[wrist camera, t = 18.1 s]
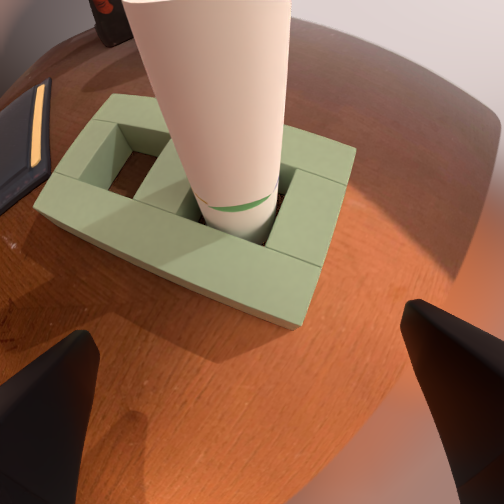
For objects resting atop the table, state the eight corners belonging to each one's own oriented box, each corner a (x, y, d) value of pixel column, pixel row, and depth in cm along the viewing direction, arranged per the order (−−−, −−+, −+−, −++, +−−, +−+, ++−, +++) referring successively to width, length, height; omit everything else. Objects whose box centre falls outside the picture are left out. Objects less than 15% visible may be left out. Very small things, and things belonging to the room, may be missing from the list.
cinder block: (126, 119, 22) (112, 93, 19) (344, 178, 19) (356, 148, 16) (57, 226, 19) (32, 207, 16) (293, 330, 16) (301, 326, 13)
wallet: (-27, 129, 23) (50, 68, 25) (-20, 136, 25) (55, 77, 27) (-50, 246, 17) (40, 169, 19) (-38, 252, 19) (51, 180, 21)
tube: (194, 228, 19) (90, 6, 4) (233, 180, 20) (198, -43, 5) (250, 264, 18) (218, 7, 4) (287, 210, 19) (321, -32, 5)
